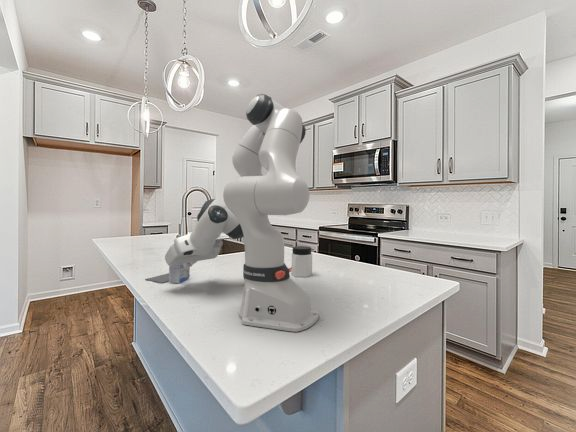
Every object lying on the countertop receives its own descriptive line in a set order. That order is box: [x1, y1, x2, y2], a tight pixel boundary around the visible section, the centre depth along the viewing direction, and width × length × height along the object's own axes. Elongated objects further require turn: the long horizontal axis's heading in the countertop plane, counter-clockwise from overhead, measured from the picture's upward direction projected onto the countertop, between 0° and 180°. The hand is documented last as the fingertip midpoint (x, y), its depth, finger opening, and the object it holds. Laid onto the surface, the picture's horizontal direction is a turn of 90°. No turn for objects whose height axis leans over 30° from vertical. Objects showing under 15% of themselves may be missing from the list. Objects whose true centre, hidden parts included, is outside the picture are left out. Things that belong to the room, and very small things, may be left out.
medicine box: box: [168, 264, 191, 284], centre depth 118 cm, size 8×4×9 cm, turn 169°
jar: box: [291, 245, 313, 278], centre depth 129 cm, size 9×8×12 cm
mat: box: [145, 272, 191, 284], centre depth 122 cm, size 10×14×1 cm
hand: (187, 265), depth 114 cm, fingers closed
